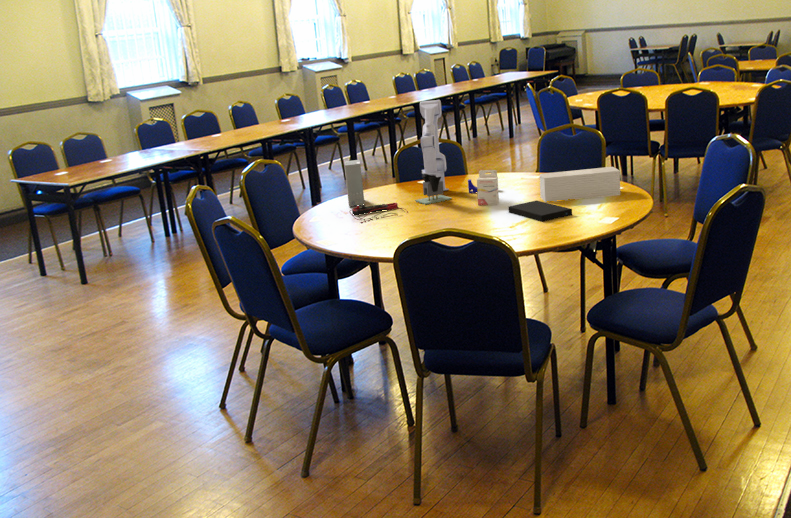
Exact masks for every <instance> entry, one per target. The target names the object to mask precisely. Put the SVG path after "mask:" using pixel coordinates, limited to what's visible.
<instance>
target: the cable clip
mask: <svg viewBox="0 0 791 518" xmlns="http://www.w3.org/2000/svg"><path fill="white" fill-rule="evenodd" d="M467 187H468V194H477V193H476V192H477V186H476V185H474V184H473V182H472V179H471V178H470V179H467Z"/></svg>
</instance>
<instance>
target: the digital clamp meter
mask: <svg viewBox="0 0 791 518" xmlns="http://www.w3.org/2000/svg"><path fill="white" fill-rule="evenodd" d="M397 207H398V208H397ZM392 209H394V210H397V209H398V210H401V211H404V212H405V211H406V212H407V213H408V214H409V211H408V210H407V209H406V208H403V207H399V204H398V203H397V202H392V203H386V204H385V203H382V204H375V205H370V206H365V205H362V206H355V207H354V208H353V209H350V210H349V211H348V212H349V214H350V215H351V216H352V217H353V219H355V220H357V221H358V220H359V221H360V223H361V224H364V223H363V222H365V223H367V222H366V221H368V222H370V220H372V221H374V220H373V219H371V218H372V217H371V218H368V219H370V220H365V219H366V218H365V217H367V216H368V215H369V213H370V212H376V211H382V210H387V211H393V210H392ZM387 211H382V212H379V213H377V212H376V213H377V214H375V215H374V217H375V218H376V219H377V220H380V219H379V217H378V215H380V214H384V213H385V212H387ZM364 213H368V214H364ZM407 213H406V214H407ZM353 214H354V215H359V214H364V217H360V215H359V216H357V217H358V218H356V216H354V215H353ZM370 214H371V213H370ZM390 214H391V215H390ZM395 215H397V213H394V212H388V213H385V214H384V215H383V217H382V216H381V219H385V218H388V217H393V216H395ZM376 216H377V217H378V218H377V217H376ZM361 220H364V221H361Z"/></svg>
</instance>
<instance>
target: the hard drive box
mask: <svg viewBox="0 0 791 518" xmlns="http://www.w3.org/2000/svg"><path fill="white" fill-rule="evenodd" d="M343 163H344V174H345V181H346V182H345V183H346V193H347V201H348V207H349V206H352V207H355V206H354V205H363V204H366V203H365V196H364V195H365V194H364V185H363V176H362V168H361V167H362V166H361V161H360V159H355V160H352V159H351V160H347V161H343Z"/></svg>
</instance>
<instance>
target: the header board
mask: <svg viewBox="0 0 791 518" xmlns="http://www.w3.org/2000/svg"><path fill="white" fill-rule="evenodd" d="M450 199H452V197H450V196H448V195H447V196H446V195H444V194H440V195H433V196H427V197H423V198H419V199H414V202H415V201H416V202H415V203H418V202H419V203H418V204H421V203H422V205H424V204H425V206H427V205H432V204H436V202H437V203H441V201H442V202H446V201H445V200H447V201H451V200H450ZM431 203H432V204H431ZM426 204H427V205H426Z"/></svg>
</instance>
